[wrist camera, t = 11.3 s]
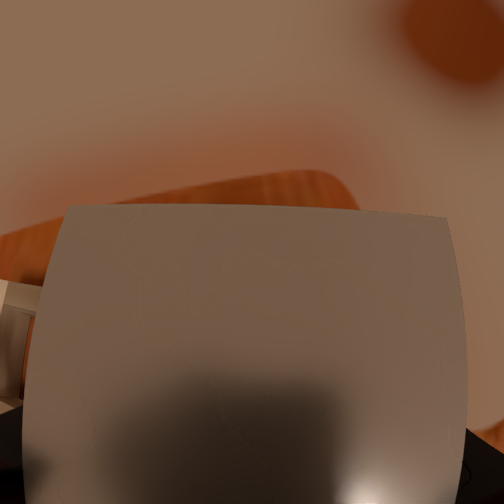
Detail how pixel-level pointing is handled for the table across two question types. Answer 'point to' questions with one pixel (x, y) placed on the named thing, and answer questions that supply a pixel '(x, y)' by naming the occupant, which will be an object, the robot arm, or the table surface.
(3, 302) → the collar
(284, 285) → the steel peg
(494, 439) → the table surface
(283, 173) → the table surface
